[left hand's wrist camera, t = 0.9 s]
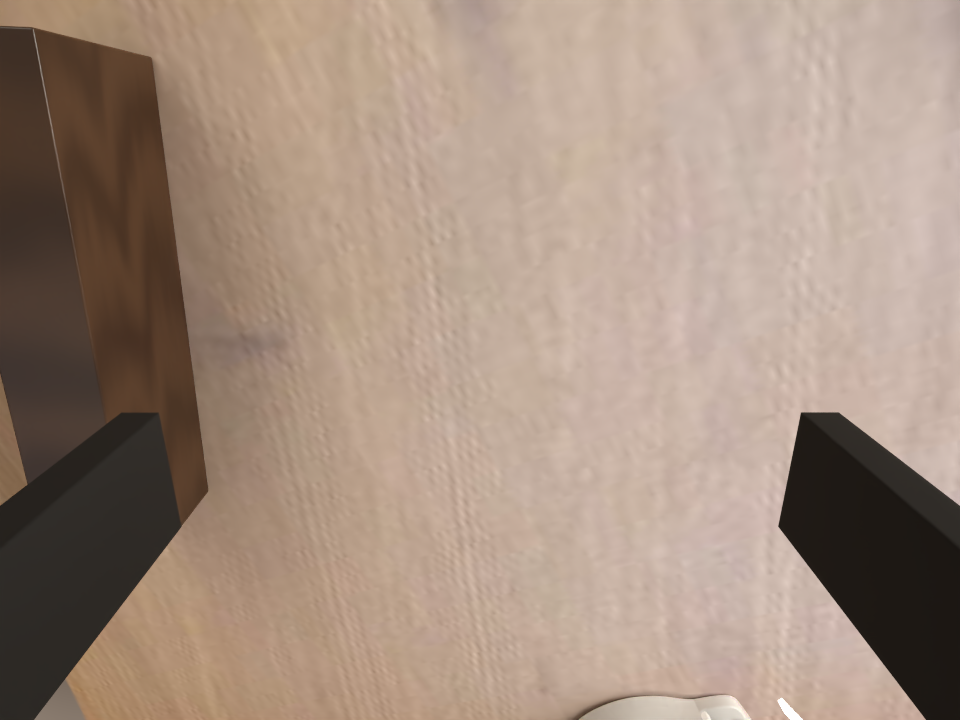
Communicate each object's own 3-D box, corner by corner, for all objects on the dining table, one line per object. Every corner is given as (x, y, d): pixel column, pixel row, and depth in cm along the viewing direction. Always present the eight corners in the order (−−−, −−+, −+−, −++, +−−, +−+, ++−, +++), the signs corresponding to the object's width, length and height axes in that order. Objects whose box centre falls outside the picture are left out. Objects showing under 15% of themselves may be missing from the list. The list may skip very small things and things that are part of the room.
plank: (64, 53, 32) (-88, 21, 23) (152, 57, 32) (32, 27, 23) (140, 489, 40) (50, 582, 32) (208, 491, 40) (137, 584, 32)
